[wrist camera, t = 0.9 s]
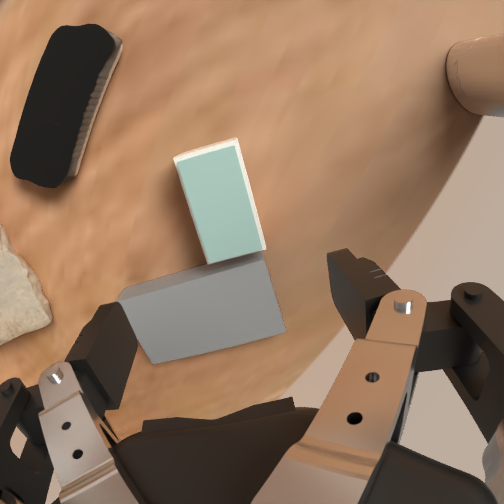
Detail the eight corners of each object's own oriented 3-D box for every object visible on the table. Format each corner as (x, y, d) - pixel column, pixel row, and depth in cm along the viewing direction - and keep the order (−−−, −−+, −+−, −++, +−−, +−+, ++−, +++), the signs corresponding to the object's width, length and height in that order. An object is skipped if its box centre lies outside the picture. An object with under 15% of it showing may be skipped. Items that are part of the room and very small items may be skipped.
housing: (236, 137, 29) (237, 139, 25) (262, 232, 33) (267, 252, 28) (181, 153, 30) (171, 159, 25) (210, 246, 34) (207, 268, 29)
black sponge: (79, 187, 30) (63, 195, 27) (21, 164, 28) (3, 170, 25) (134, 40, 25) (123, 31, 22) (69, 25, 23) (53, 17, 20)
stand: (261, 247, 34) (263, 259, 31) (282, 316, 37) (286, 332, 34) (124, 288, 35) (116, 301, 32) (156, 348, 38) (152, 364, 35)
